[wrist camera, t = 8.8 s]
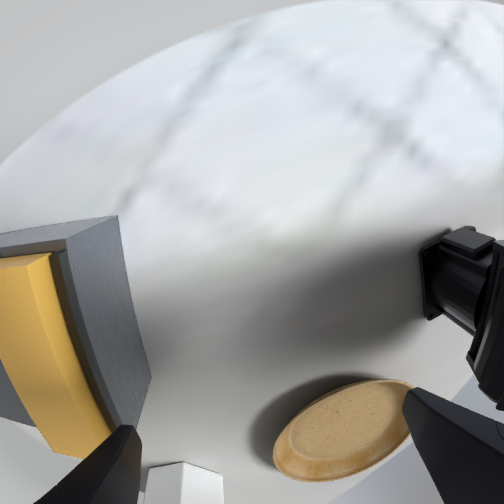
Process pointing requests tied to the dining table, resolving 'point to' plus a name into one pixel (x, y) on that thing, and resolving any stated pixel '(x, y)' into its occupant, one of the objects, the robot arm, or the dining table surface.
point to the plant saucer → (343, 432)
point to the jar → (183, 485)
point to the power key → (46, 358)
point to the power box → (89, 314)
